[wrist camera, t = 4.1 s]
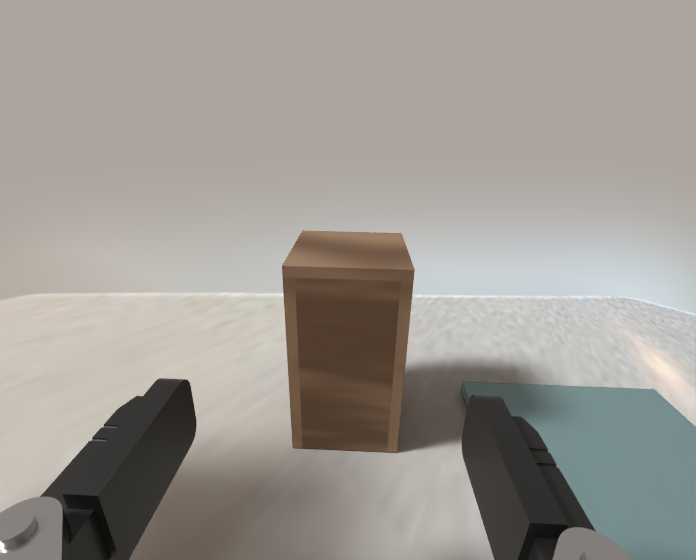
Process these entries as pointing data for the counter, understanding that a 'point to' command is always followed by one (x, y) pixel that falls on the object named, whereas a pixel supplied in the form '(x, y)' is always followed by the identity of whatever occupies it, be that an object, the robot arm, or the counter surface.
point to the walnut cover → (347, 338)
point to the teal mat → (617, 460)
